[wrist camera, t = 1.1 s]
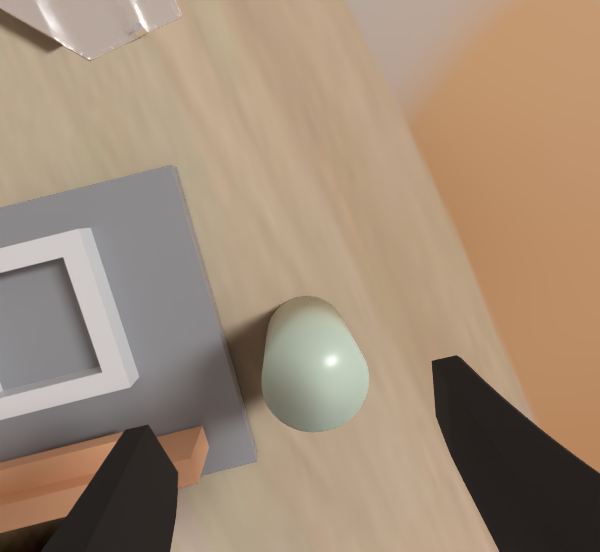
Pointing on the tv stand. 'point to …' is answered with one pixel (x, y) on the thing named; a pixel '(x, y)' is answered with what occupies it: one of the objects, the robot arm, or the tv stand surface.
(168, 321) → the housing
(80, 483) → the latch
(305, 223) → the tv stand surface
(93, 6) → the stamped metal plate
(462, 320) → the tv stand surface
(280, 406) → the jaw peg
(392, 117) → the tv stand surface
